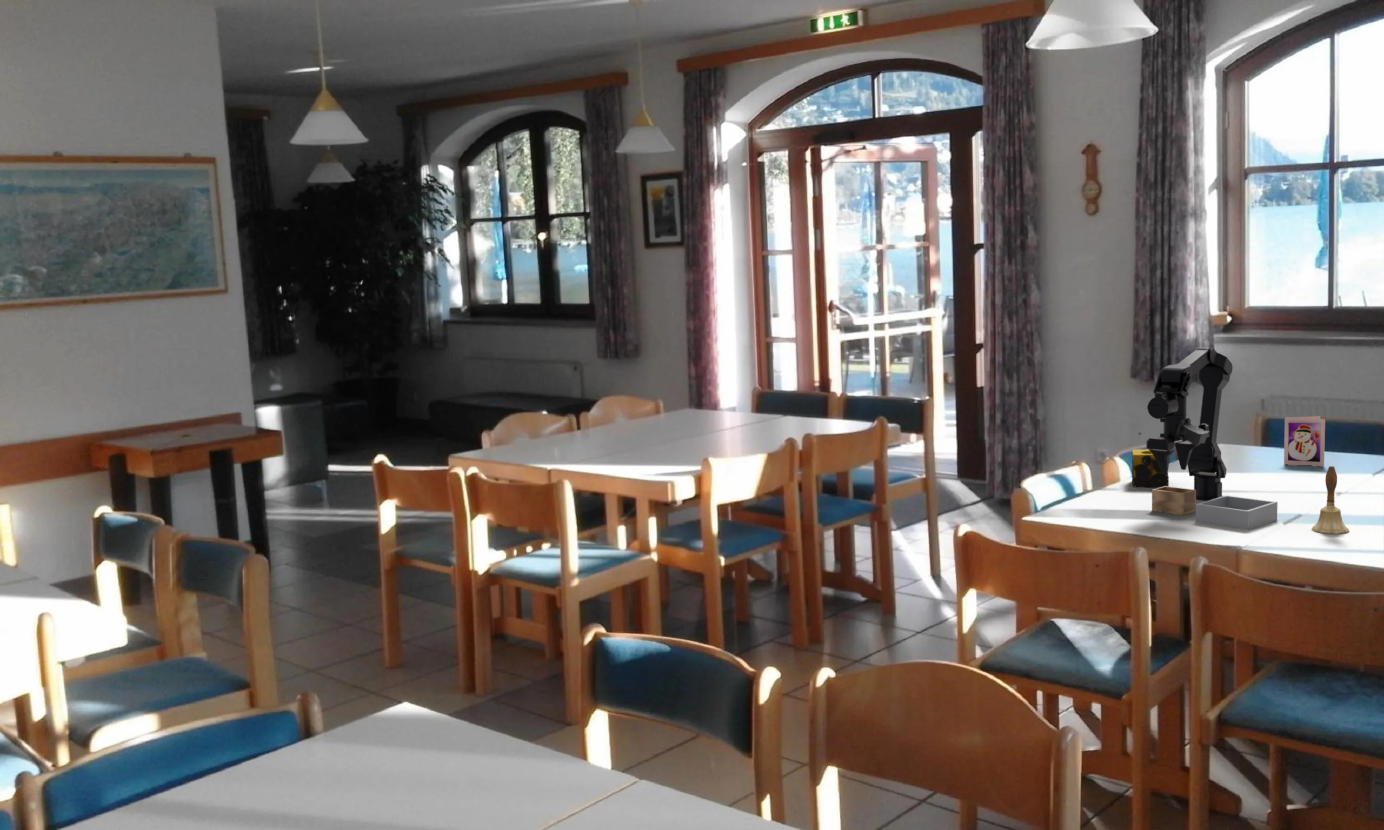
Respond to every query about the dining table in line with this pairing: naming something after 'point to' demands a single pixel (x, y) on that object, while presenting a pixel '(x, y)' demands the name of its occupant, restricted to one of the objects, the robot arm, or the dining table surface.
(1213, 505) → the grey crate
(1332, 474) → the hand bell
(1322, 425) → the greeting card
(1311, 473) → the dining table surface
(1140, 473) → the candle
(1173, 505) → the walnut crate
